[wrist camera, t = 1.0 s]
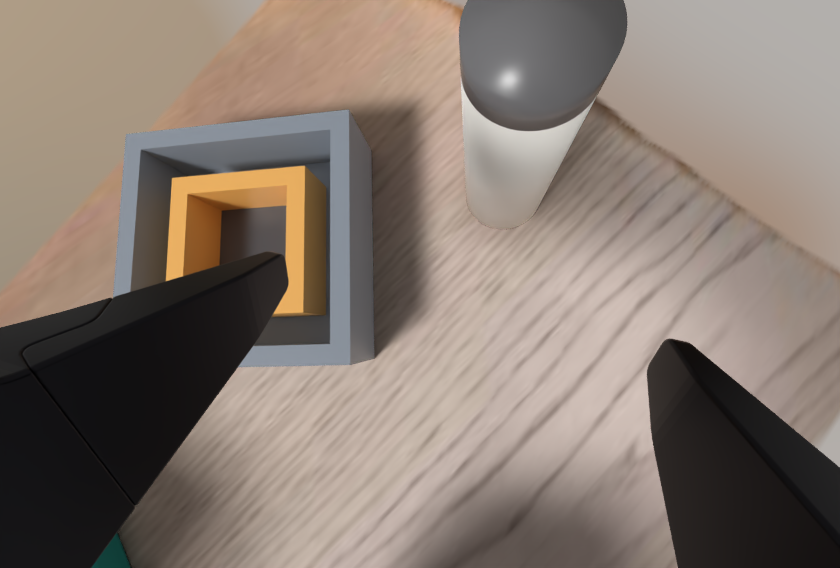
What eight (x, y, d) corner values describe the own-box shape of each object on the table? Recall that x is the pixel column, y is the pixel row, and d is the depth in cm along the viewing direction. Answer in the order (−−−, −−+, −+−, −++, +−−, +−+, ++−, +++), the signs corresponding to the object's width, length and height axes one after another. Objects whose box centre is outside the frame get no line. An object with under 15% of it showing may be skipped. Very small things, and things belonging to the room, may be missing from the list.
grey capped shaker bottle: (543, 226, 22) (635, 91, 10) (467, 231, 22) (462, 109, 10) (538, 155, 22) (618, -59, 10) (464, 162, 23) (455, -33, 11)
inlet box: (374, 358, 22) (350, 364, 18) (174, 363, 24) (107, 369, 20) (371, 150, 24) (348, 109, 20) (185, 168, 26) (125, 134, 21)
